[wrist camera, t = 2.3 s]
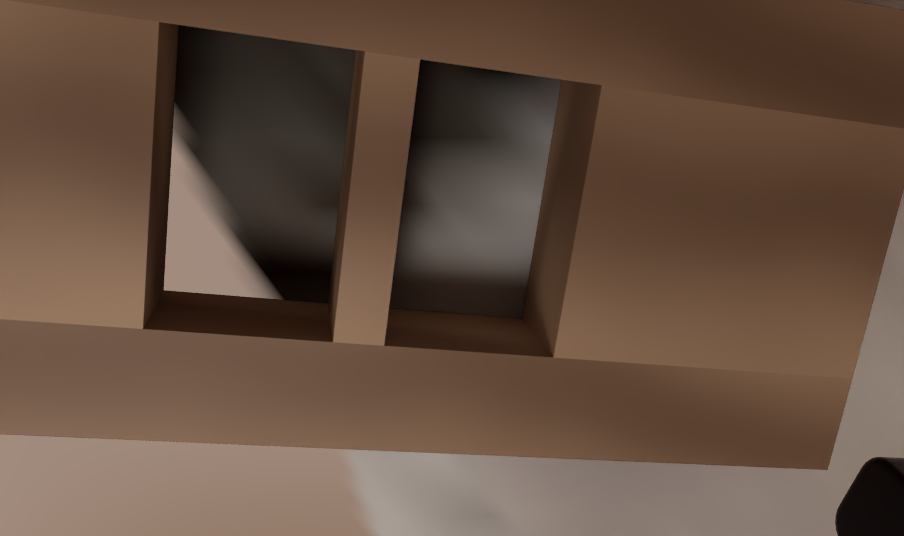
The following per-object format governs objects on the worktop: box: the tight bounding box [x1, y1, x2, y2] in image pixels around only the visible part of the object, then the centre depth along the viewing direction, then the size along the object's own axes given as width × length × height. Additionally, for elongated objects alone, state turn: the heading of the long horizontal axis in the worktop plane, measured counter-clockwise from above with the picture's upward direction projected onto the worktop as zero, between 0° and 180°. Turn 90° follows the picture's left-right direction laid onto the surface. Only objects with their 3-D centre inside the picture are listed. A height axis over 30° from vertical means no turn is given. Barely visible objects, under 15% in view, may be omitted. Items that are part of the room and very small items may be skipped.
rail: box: [0, 0, 904, 470], centre depth 17 cm, size 10×22×2 cm, turn 81°
